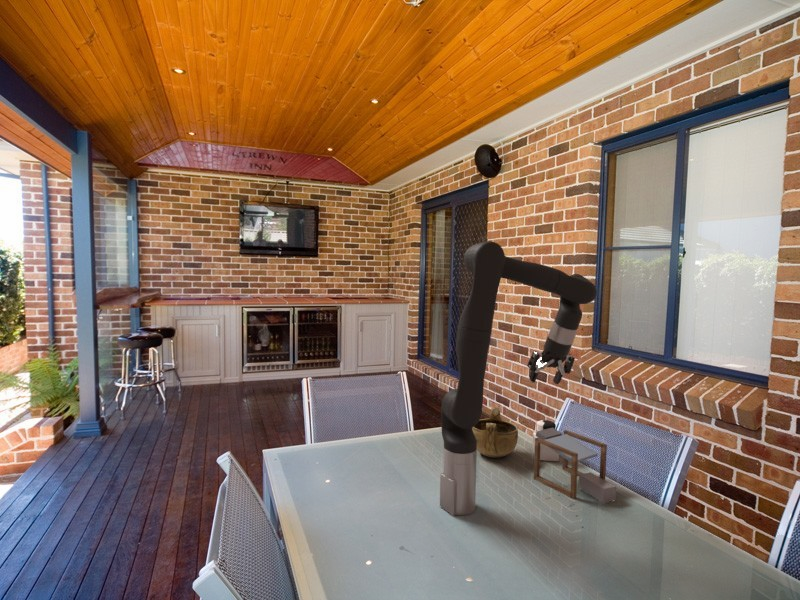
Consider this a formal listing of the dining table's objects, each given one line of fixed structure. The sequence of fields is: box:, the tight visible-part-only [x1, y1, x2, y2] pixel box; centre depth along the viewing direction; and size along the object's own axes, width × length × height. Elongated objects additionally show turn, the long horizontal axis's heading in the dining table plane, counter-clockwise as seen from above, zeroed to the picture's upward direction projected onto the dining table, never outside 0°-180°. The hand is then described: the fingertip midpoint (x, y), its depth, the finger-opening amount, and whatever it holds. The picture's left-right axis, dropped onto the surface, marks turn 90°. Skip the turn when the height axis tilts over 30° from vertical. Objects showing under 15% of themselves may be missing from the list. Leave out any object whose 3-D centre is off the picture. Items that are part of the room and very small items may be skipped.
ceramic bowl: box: [472, 406, 519, 459], centre depth 166 cm, size 22×17×15 cm
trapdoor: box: [535, 428, 598, 463], centre depth 145 cm, size 12×16×2 cm
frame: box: [533, 429, 608, 500], centre depth 144 cm, size 15×15×14 cm
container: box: [532, 419, 560, 462], centre depth 164 cm, size 8×8×13 cm
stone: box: [578, 472, 617, 504], centre depth 137 cm, size 4×4×10 cm
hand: (543, 382), depth 145 cm, fingers open, 8 cm apart
